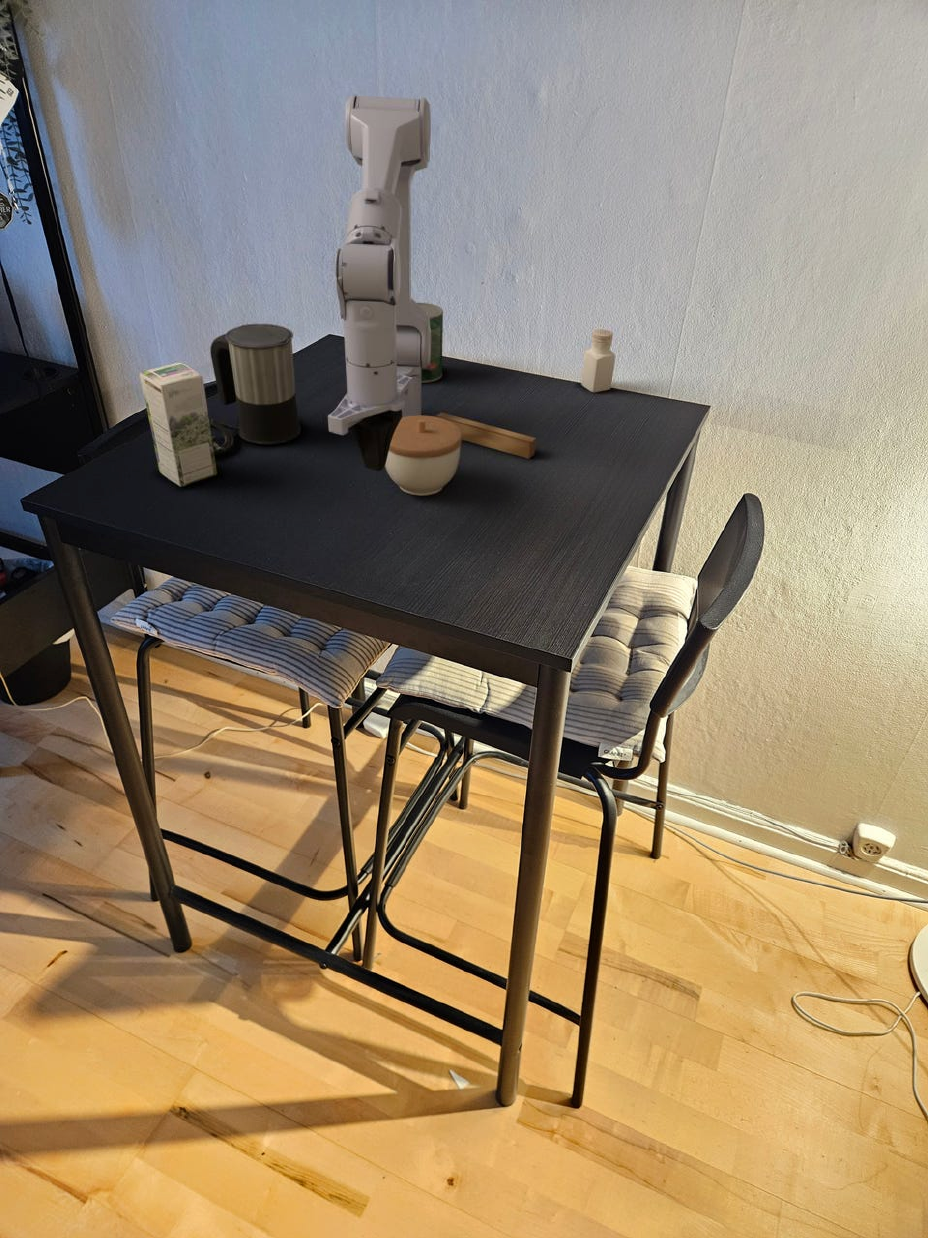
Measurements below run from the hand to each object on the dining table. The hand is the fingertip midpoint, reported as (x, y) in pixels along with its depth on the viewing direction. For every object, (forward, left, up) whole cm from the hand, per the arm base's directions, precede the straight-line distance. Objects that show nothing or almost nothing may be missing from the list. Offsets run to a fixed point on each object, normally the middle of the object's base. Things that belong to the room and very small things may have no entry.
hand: (375, 467), depth 102 cm
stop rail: (+1, +27, -7) cm, 28 cm away
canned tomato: (-21, +44, -8) cm, 49 cm away
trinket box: (0, +11, -8) cm, 13 cm away
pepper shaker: (+7, +56, -8) cm, 57 cm away
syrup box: (-28, -4, -8) cm, 29 cm away
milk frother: (-29, +8, -8) cm, 31 cm away
